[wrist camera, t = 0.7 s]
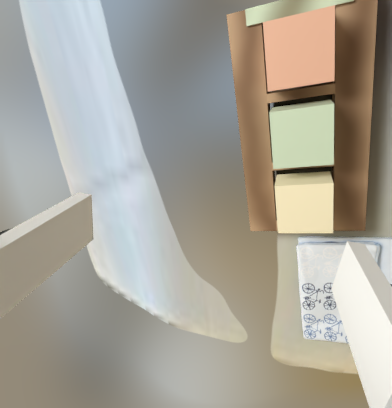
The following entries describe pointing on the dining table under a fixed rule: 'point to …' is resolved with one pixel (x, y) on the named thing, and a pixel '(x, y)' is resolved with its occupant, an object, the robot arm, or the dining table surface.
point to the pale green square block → (302, 134)
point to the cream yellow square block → (304, 202)
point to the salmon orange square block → (300, 49)
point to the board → (339, 88)
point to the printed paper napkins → (330, 281)
